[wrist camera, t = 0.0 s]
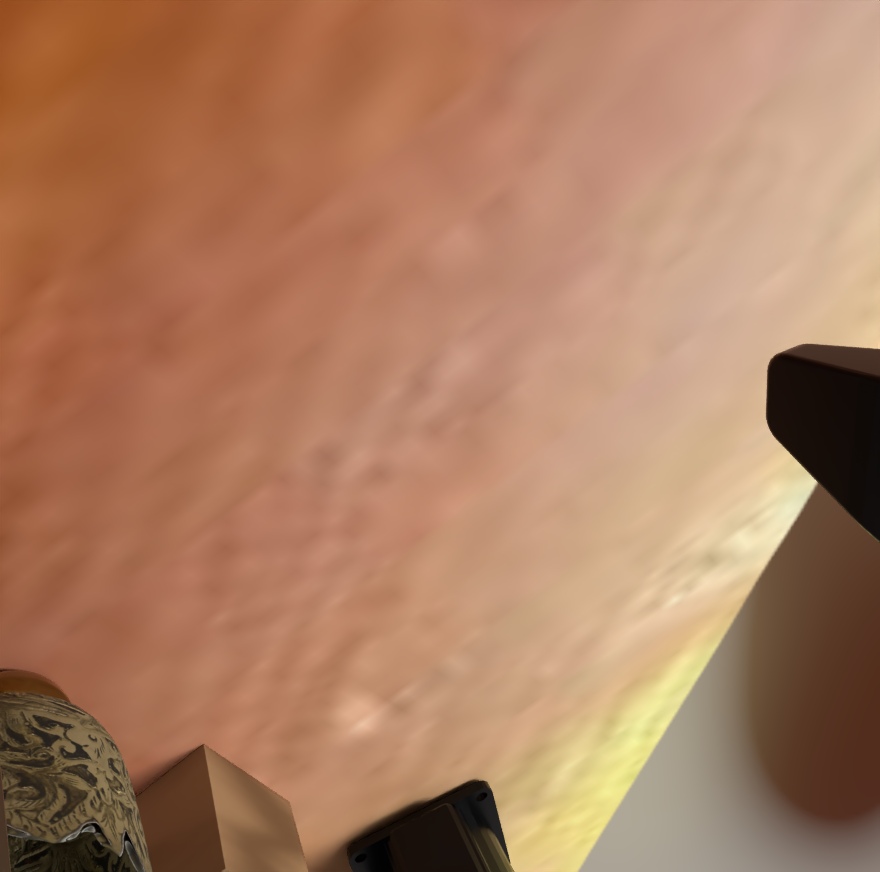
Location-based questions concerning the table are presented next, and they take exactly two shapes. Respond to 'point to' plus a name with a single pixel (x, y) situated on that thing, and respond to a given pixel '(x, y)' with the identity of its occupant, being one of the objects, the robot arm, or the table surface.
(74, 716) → the ornate bronze bell
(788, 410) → the robot arm
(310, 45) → the table surface
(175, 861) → the walnut block
